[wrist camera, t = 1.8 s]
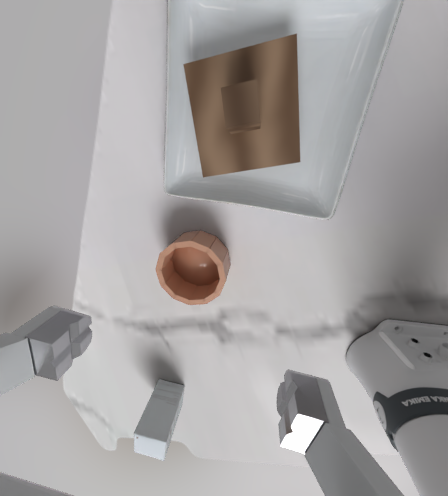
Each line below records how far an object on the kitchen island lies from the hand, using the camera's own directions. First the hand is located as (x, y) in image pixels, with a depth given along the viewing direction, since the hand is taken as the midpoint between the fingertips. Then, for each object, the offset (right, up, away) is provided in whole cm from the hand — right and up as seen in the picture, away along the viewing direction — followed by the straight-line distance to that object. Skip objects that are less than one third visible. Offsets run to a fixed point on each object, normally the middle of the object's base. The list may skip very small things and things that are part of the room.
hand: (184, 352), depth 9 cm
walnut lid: (+4, +22, +20) cm, 30 cm away
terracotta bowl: (-3, +2, +33) cm, 33 cm away
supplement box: (-13, -34, +49) cm, 61 cm away
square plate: (+7, +24, +24) cm, 35 cm away
